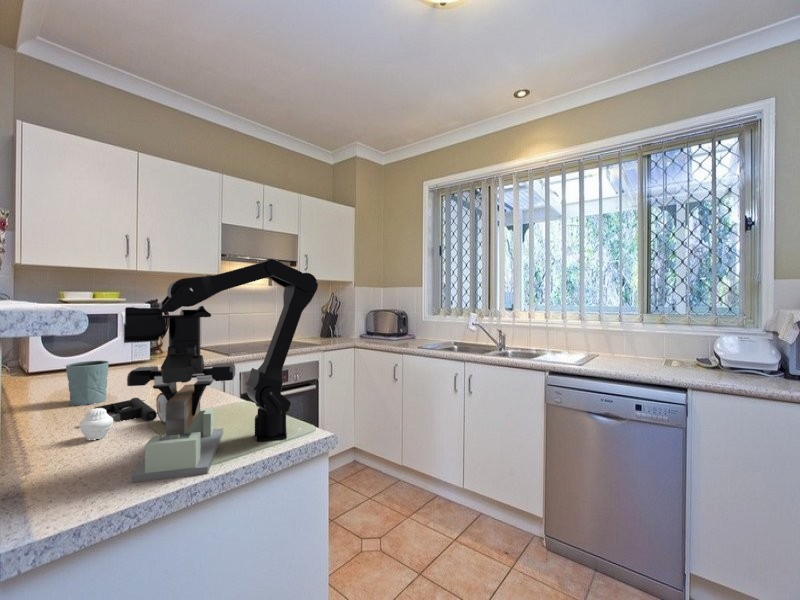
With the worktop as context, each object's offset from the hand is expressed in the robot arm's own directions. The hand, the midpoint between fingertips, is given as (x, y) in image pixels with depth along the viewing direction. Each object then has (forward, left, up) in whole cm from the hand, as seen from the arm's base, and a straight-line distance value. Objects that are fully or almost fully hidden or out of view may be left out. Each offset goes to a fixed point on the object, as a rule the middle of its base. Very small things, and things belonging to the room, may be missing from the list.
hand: (184, 415), depth 79 cm
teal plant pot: (+37, -53, -8) cm, 65 cm away
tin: (+6, -21, -8) cm, 23 cm away
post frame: (0, 0, -8) cm, 8 cm away
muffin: (+21, -16, -8) cm, 28 cm away
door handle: (+23, -33, -9) cm, 41 cm away
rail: (0, 0, -1) cm, 1 cm away
